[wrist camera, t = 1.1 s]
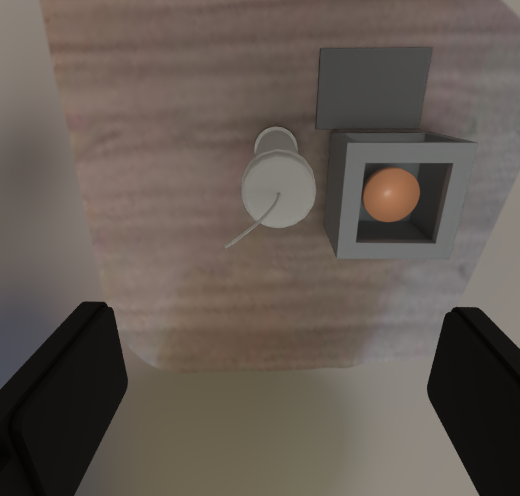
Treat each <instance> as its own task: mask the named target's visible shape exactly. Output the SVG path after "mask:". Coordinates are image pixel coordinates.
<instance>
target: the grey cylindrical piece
mask: <svg viewBox="0 0 520 496" xmlns="http://www.w3.org/2000/svg"><path fill="white" fill-rule="evenodd" d="M297 150H298V147H297V142H296V139H295V137H294V136H293V135H292V133H291V132H290V131H288V130H287V129H285V128H283V127H277V126H274V127H270V128H267V129H265V130H264V131H263V132H262V133H260V134H259V136H258V138H257V140H256V142H255V148H254V152H255V156H254V159H252V160H251V161H250V162H249V164H248V166H247V168H246V170H245V172H244V174H243V178H242V188H241V190H242V193H241V196H242V200H243V203H244V206H245V209H246V210H247V212H248V213H249V214H250V215H251V216H252V218H253V219H254V220H256V221H257V222H256V223H254V224H253V225H252V226H251V227H250V228H248V229H247V230H246V231H245V232H243V233H242V234H241V235H239V236H238V237H236V238H235V239H234V240H232V241H231V242H229V243H228V244H226V245H225V246H224V247H225V249H226V248H228V247H229V246H231V245H232V244H234V243H235V242H237V241H238V240H240V239H241V238H242V237H244V236H245V235H246V234H247V233H249V232H250V231H251V230H252V229H254V228H255V227H256V226H257V225H258V224H259V223H261V224H263V225H265V226H267V227H275V228H283V227H287V226H291V225H295V224H296V223H298V222H299V221H300V220H302V219H303V218H305V217H306V216H307V214H308V213H309V211H310V210H311V208H312V207H313V205H314V201H315V195H316V186H315V185H316V184H315V179H314V175H313V170H312V169H311V167H310V166H309V165H308V163H307V162H306V160H305V159H304V158H303V157H302V156H300V155H299V153H298V151H297Z"/></svg>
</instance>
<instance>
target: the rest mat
mask: <svg viewBox="0 0 520 496" xmlns="http://www.w3.org/2000/svg"><path fill="white" fill-rule="evenodd" d="M432 49H433V47H429V48H321V49H320V64H319V81H318V98H317V115H316V129H419V124H420V118H421V112H422V106H423V101H424V95H425V89H426V83H427V78H428V72H429V66H430V60H431V55H432Z"/></svg>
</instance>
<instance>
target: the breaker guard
mask: <svg viewBox="0 0 520 496" xmlns="http://www.w3.org/2000/svg"><path fill="white" fill-rule="evenodd" d="M477 146H478V143H477V142H472V141H468V140H463V139H459V138H455V137H450V136H446V135H441V134H437V133H433V132H331V137H330V150H329V163H328V176H327V190H326V203H325V216H324V228H325V230H326V233H327V235H328V238H329V240H330V243H331V246H332V248H333V251H334V253H335V256H336V258H342V259H434V260H450V257H451V253H452V249H453V245H454V240H455V236H456V232H457V228H458V224H459V220H460V216H461V212H462V208H463V204H464V199H465V195H466V191H467V187H468V183H469V179H470V175H471V171H472V167H473V163H474V159H475V154H476V150H477ZM385 167H398V168H401V169H403V170H405V171H407V172H409V173H410V174H412V175H413V176H414V177H415V178H416V180H417V182H418V184H419V188H420V195H419V200H418V202H417V205H416V206H415V208H414V209H413V210H412V212H411V213H410V214H408V215H407V216H406V217H404V218H402V219H400V220H398V221H394V222H383V221H379V220H377V219H375V218H373V217H372V216H371V215H370V214H369V213H368V212H367V210H366V209H365V208H364V206H363V203H362V199H361V194H362V188H363V186H364V183H365V182H366V180H367V179H368V178H369V177H370V176H371V175H372V174H373V173H374V172H376V171H377V170H379V169H382V168H385Z"/></svg>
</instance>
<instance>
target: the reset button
mask: <svg viewBox="0 0 520 496" xmlns="http://www.w3.org/2000/svg"><path fill="white" fill-rule="evenodd" d="M419 195H420V188H419V184H418V182H417V180H416V178H415V177H414V176H413V175H412V174H410V173H409V172H407V171H405V170H403V169H401V168H398V167H385V168H382V169H379V170H377V171H376V172H374V173H373V174H372V175H371V176H370V177H369V178H368V179H367V180H366V182H365V183H364V186H363V188H362V194H361V199H362V203H363V206H364V208H365V209H366V210H367V212H368V213H369V214H370V215H371V216H372V217H373V218H375V219H377V220H379V221H383V222H394V221H398V220H400V219H402V218H404V217H406V216H407V215H408V214H410V213H411V212H412V210H413V209H414V208H415V206H416V205H417V202H418V200H419Z"/></svg>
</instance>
